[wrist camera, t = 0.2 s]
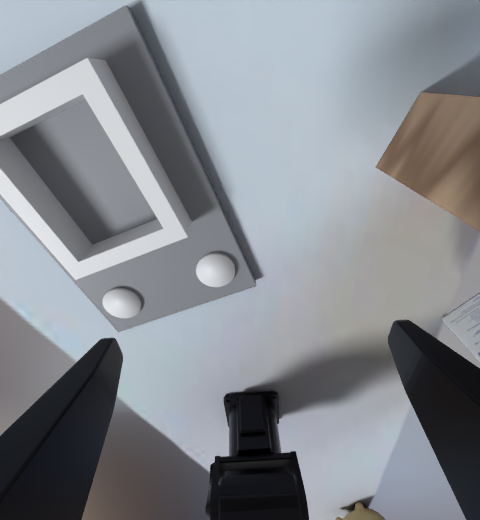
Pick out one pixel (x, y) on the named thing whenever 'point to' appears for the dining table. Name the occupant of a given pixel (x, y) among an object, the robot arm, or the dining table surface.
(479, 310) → the medicine box
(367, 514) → the toy pig
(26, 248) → the dining table surface
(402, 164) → the tan tall block
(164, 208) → the grey insertion base
